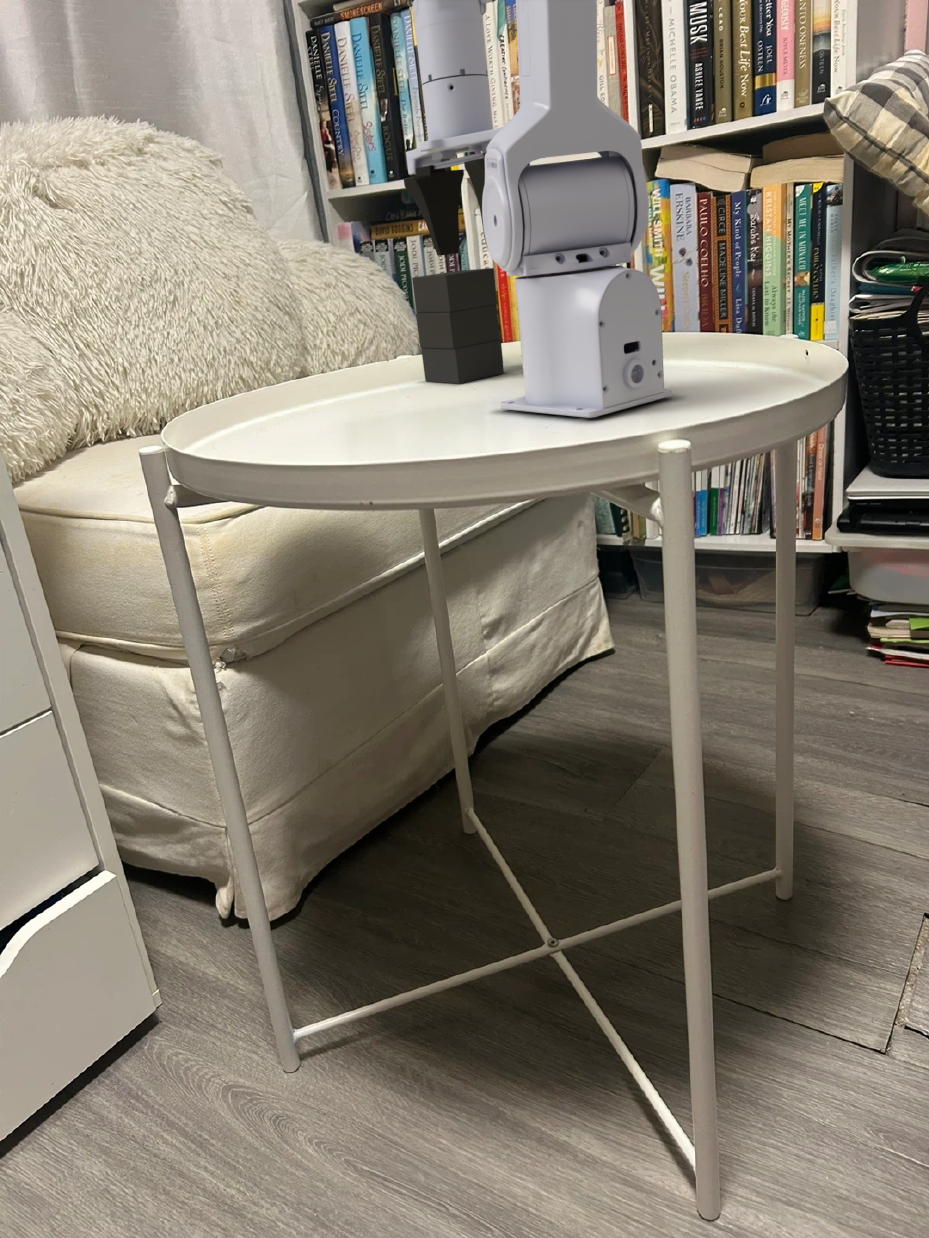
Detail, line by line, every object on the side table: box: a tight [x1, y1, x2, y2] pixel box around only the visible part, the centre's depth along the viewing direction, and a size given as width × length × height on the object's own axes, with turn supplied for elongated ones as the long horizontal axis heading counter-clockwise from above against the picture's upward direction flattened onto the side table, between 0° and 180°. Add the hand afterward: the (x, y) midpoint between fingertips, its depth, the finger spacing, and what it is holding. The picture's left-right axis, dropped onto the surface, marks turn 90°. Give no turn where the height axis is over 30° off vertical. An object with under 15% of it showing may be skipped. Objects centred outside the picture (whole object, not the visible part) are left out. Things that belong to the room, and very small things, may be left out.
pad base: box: [420, 338, 505, 385], centre depth 85 cm, size 5×5×3 cm
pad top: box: [411, 267, 498, 313], centre depth 83 cm, size 5×5×3 cm
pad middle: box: [415, 304, 501, 349], centre depth 84 cm, size 5×5×3 cm
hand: (472, 252), depth 85 cm, fingers open, 7 cm apart
